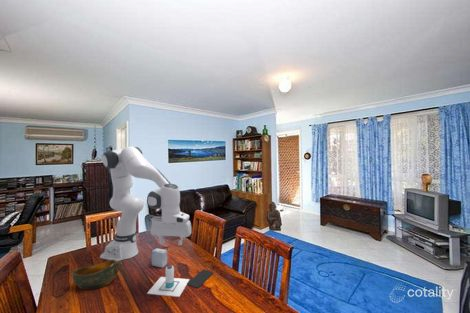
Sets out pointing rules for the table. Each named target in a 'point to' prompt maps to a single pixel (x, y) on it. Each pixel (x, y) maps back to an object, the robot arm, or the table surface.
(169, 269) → the marker
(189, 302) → the table surface
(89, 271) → the green oval bowl
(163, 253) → the medicine box
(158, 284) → the paper
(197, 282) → the phone
